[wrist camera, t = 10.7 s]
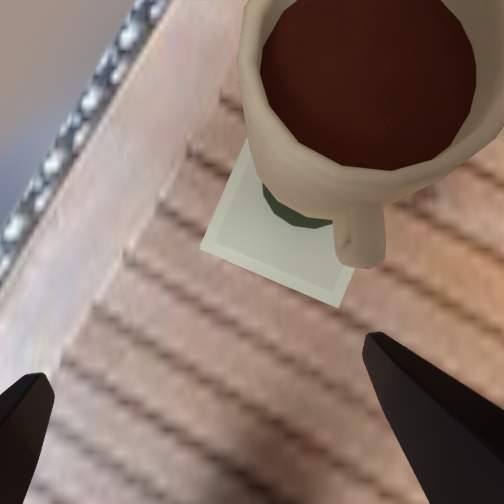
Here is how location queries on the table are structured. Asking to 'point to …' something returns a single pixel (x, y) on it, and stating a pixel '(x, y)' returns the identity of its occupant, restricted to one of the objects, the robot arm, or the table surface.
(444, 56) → the character mug
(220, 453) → the table surface
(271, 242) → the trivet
